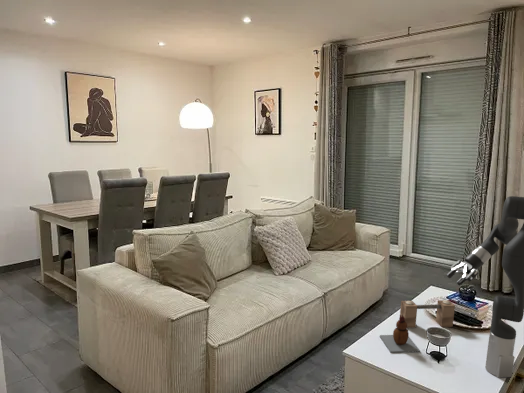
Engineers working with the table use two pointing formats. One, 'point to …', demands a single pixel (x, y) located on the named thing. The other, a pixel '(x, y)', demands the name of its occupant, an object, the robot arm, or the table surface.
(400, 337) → the wooden figurine
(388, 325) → the table surface
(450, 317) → the handrail
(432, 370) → the table surface
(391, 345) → the slate mat
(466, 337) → the table surface
